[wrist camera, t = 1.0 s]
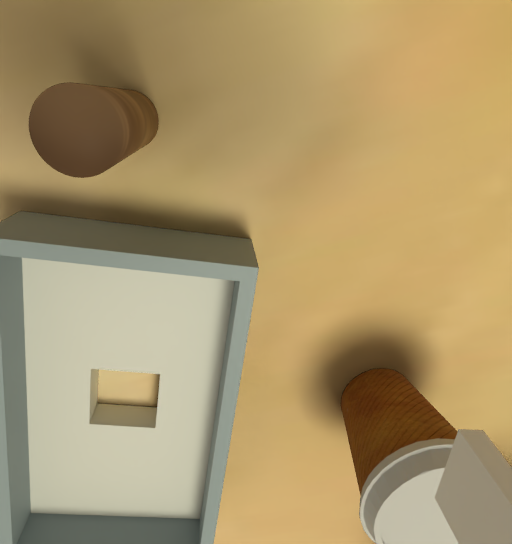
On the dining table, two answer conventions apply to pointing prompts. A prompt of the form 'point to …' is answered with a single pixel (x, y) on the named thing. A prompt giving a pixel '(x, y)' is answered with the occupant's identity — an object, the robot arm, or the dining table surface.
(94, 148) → the dowel
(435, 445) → the disposable coffee cup
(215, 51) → the dining table surface
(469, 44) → the dining table surface
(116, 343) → the tray
